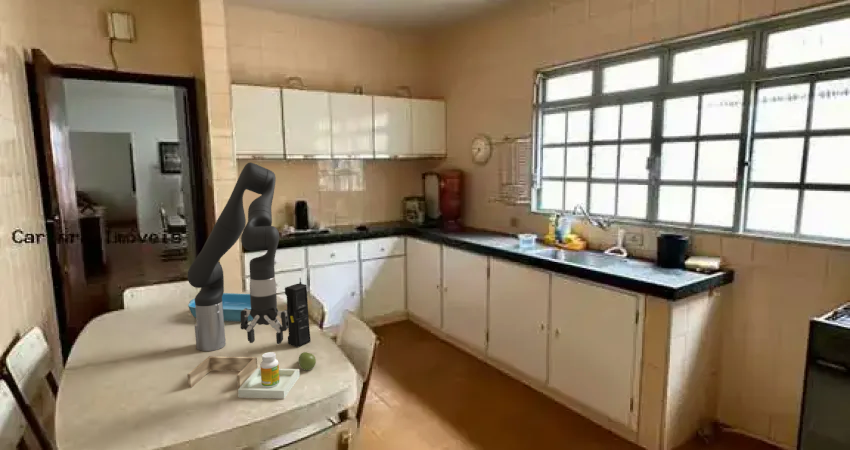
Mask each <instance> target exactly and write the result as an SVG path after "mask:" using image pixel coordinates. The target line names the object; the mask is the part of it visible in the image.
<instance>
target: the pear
mask: <svg viewBox="0 0 850 450" xmlns="http://www.w3.org/2000/svg"><path fill="white" fill-rule="evenodd" d="M297 360H298V361H297V362H298V365H299V367H300V368H301V369H302V370H304V371H310V370H313V369H314V368H315V366H316V364H317V363H316V362H317V359H316V356H315V355H314V354H313V353H311V352H307V351H306V352H305V351H304V352H302V353H300V354H299V356H298V359H297Z"/></svg>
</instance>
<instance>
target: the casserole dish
mask: <svg viewBox="0 0 850 450" xmlns="http://www.w3.org/2000/svg"><path fill="white" fill-rule="evenodd" d="M222 304H223V316H224V322H238V323H239V322H240V323H241V311H242V310H244V309H245V308H247V309H248V310H251V302H250V293H233V292H231V293H228V292H224V293H223V296H222ZM187 307H188V309H189V311H190V313H191V315H192V316H193V317H194V318H196V308H195V298H192V299H191V300H189V303H188V304H187ZM252 320H253V318H252V316H251V315H250V314H249V316H248V322H252Z"/></svg>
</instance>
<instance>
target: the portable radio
mask: <svg viewBox="0 0 850 450" xmlns="http://www.w3.org/2000/svg"><path fill="white" fill-rule="evenodd" d="M301 281H302V278H299V283H295V284H292V285H289V286H286V287H284V295H285V297H286V310H287V311H288V320H289V328H288V329H287V330H288V336H287V344H288V345H289V346H292V347H296V348H300V347H302V346H304V345H306V344H308V343H310V342H311V341H312V340H311V331H310V329H311V328H310V320H309V319H310V318H309V304H308V288H307V285H308V284H303V283H302V282H301Z"/></svg>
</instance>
